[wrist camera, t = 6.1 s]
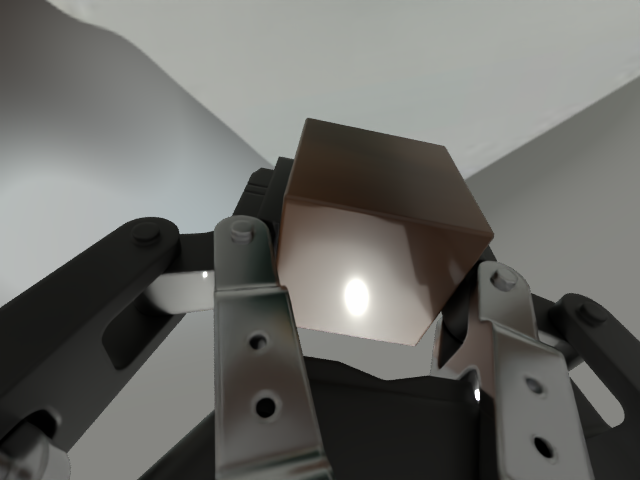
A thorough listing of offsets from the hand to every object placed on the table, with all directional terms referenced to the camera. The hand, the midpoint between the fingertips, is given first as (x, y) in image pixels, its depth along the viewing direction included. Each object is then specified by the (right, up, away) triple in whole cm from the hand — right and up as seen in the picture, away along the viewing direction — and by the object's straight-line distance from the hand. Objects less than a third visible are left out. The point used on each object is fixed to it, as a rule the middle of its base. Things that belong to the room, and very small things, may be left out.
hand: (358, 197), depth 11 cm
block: (0, 0, 0) cm, 0 cm away
